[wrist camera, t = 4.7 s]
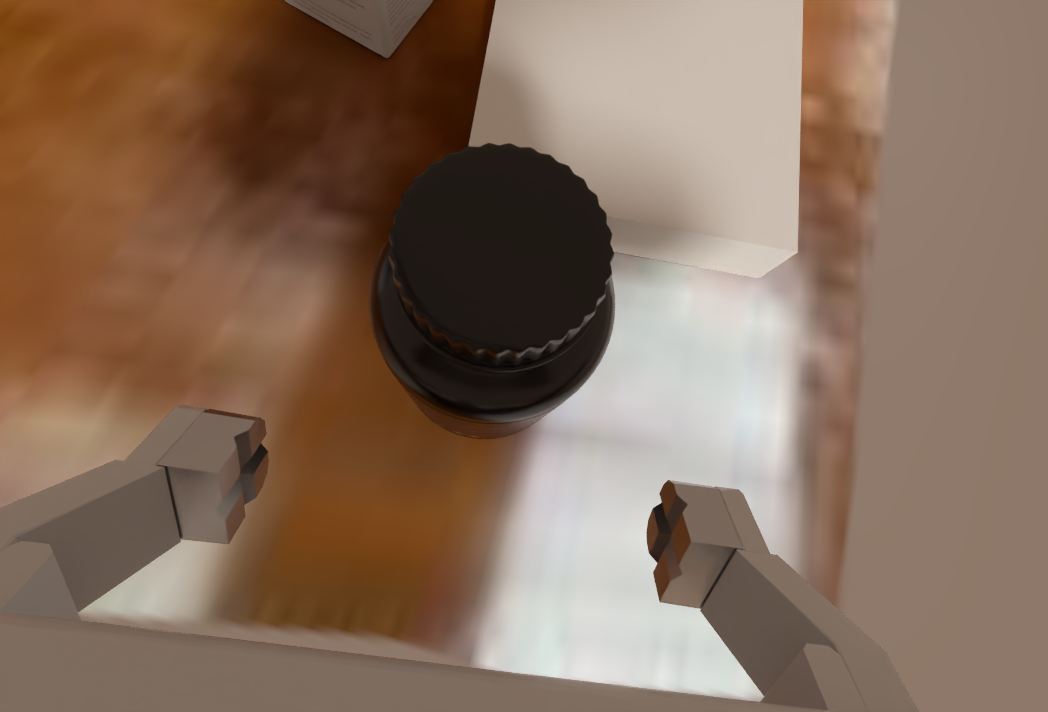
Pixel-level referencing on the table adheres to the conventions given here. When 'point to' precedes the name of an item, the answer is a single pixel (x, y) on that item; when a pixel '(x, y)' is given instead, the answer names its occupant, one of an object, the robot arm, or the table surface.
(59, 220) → the table surface
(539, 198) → the supplement bottle
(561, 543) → the table surface
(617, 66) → the stand
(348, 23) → the skincare box
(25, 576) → the robot arm
